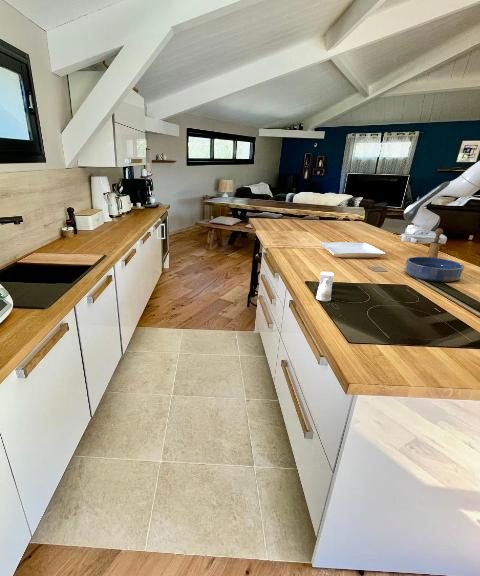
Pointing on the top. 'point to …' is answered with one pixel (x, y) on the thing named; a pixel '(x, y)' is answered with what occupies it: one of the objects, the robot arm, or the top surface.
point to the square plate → (352, 249)
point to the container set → (325, 286)
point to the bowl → (434, 269)
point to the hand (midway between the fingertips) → (427, 241)
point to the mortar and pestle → (435, 244)
